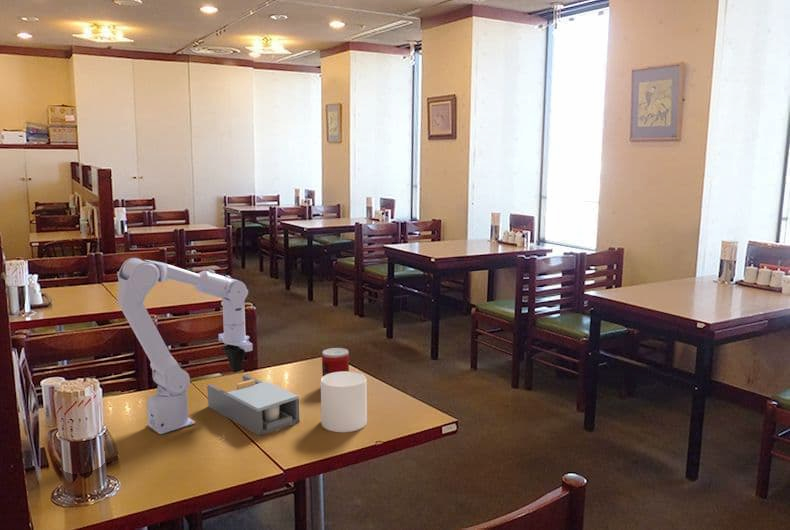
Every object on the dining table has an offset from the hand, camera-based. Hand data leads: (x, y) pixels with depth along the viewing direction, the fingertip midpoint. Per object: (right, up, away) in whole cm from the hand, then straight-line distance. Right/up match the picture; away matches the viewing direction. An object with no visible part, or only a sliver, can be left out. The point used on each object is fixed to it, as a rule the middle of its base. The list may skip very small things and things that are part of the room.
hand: (236, 371), depth 173 cm
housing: (+5, -11, -4) cm, 13 cm away
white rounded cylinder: (+12, -11, -10) cm, 19 cm away
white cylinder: (+30, -12, -9) cm, 34 cm away
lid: (+9, -5, -8) cm, 13 cm away
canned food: (+26, -8, +17) cm, 32 cm away
